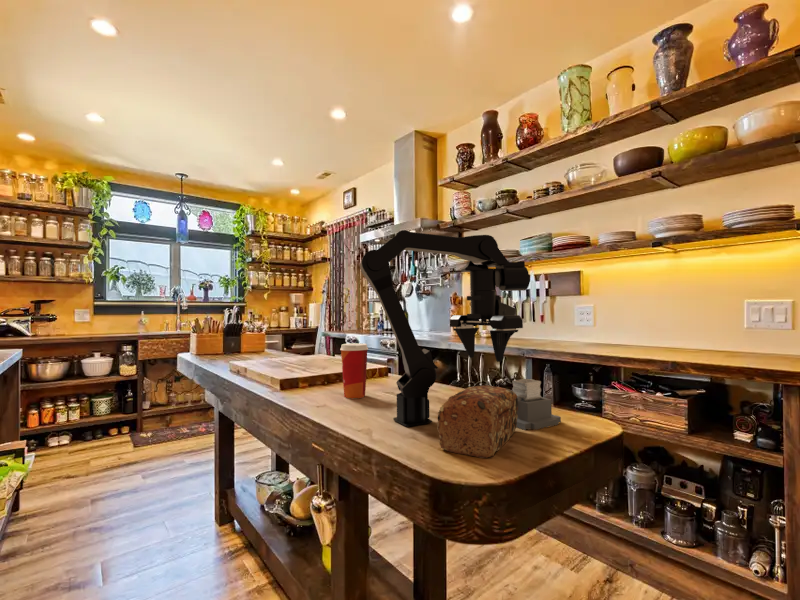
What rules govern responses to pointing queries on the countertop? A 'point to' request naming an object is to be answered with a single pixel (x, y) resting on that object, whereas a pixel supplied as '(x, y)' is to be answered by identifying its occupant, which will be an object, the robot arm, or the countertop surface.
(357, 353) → the coffee cup
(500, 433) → the bread
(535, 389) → the column
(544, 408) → the stand base
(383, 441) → the countertop surface
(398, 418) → the robot arm
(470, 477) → the countertop surface
